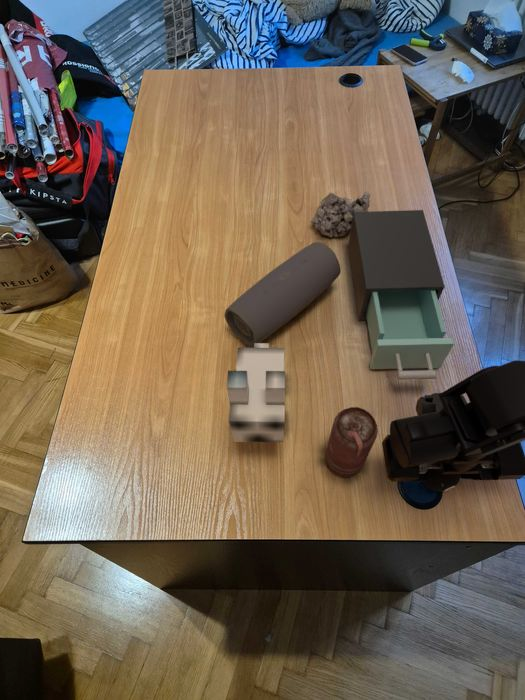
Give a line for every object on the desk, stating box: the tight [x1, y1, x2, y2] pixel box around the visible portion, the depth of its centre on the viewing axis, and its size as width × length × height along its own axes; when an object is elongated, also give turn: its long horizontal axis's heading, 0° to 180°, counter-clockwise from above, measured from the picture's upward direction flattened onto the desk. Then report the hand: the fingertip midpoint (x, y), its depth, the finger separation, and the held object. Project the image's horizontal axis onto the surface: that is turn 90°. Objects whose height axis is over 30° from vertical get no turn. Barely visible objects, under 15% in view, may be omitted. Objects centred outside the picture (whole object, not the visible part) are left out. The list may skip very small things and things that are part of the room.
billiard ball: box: [422, 469, 461, 493], centre depth 71 cm, size 6×6×6 cm
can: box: [324, 406, 379, 478], centre depth 69 cm, size 6×6×14 cm
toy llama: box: [226, 342, 286, 443], centre depth 72 cm, size 8×18×20 cm, turn 179°
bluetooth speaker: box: [224, 241, 341, 347], centre depth 88 cm, size 23×9×10 cm, turn 134°
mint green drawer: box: [365, 290, 455, 380], centre depth 83 cm, size 23×12×8 cm, turn 1°
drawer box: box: [347, 209, 445, 322], centre depth 91 cm, size 20×14×10 cm
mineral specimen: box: [309, 191, 371, 238], centre depth 101 cm, size 12×9×10 cm
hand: (435, 474), depth 72 cm, fingers closed on billiard ball, 6 cm apart
